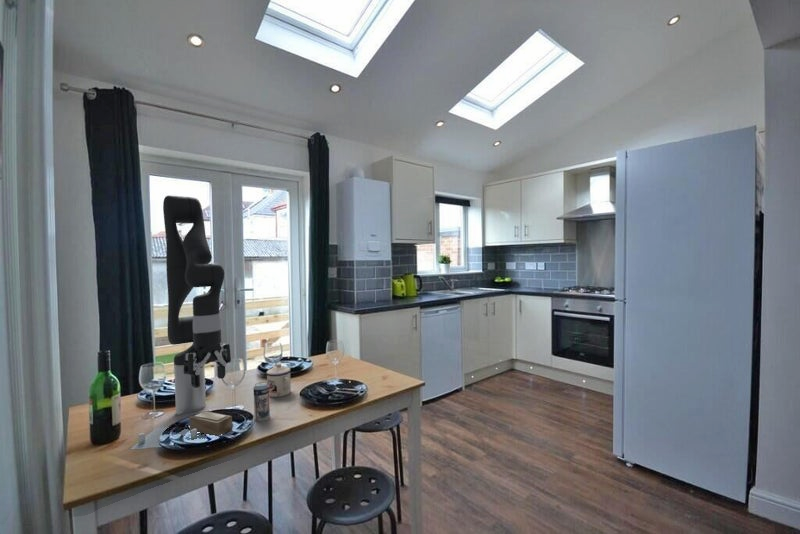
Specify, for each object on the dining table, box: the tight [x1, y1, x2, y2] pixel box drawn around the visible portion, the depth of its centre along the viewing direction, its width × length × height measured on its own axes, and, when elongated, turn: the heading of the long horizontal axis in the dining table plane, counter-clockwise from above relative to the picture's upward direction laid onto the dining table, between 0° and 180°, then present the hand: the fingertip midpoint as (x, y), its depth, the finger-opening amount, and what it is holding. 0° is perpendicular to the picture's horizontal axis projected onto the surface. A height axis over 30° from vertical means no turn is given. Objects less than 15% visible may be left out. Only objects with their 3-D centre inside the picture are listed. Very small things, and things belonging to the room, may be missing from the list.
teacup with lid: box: [266, 363, 292, 398], centre depth 141 cm, size 12×9×12 cm
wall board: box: [129, 421, 234, 451], centre depth 106 cm, size 13×23×4 cm, turn 97°
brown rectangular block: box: [188, 410, 233, 436], centre depth 109 cm, size 5×12×4 cm, turn 67°
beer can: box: [253, 381, 271, 422], centre depth 117 cm, size 5×5×12 cm
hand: (209, 382), depth 109 cm, fingers open, 8 cm apart
